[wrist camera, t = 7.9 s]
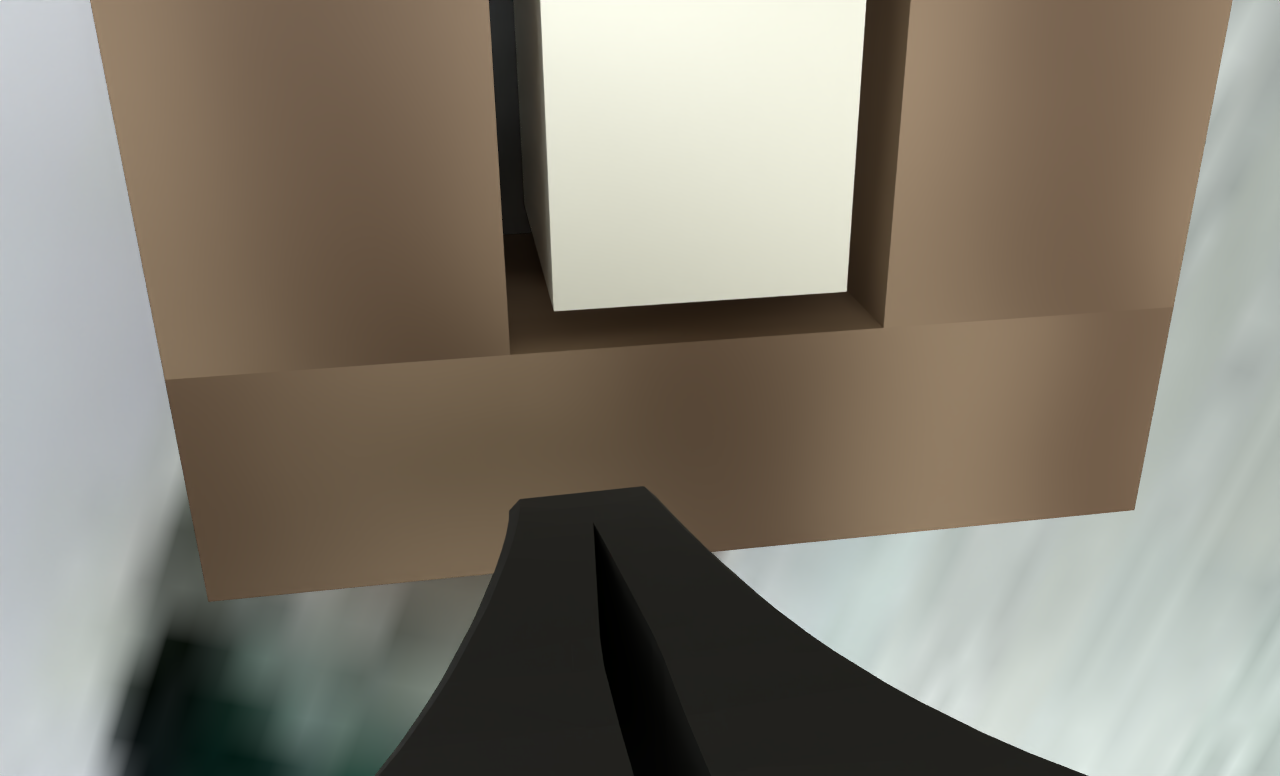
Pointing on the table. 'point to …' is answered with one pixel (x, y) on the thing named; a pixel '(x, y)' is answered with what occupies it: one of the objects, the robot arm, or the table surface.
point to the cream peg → (688, 146)
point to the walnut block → (648, 334)
